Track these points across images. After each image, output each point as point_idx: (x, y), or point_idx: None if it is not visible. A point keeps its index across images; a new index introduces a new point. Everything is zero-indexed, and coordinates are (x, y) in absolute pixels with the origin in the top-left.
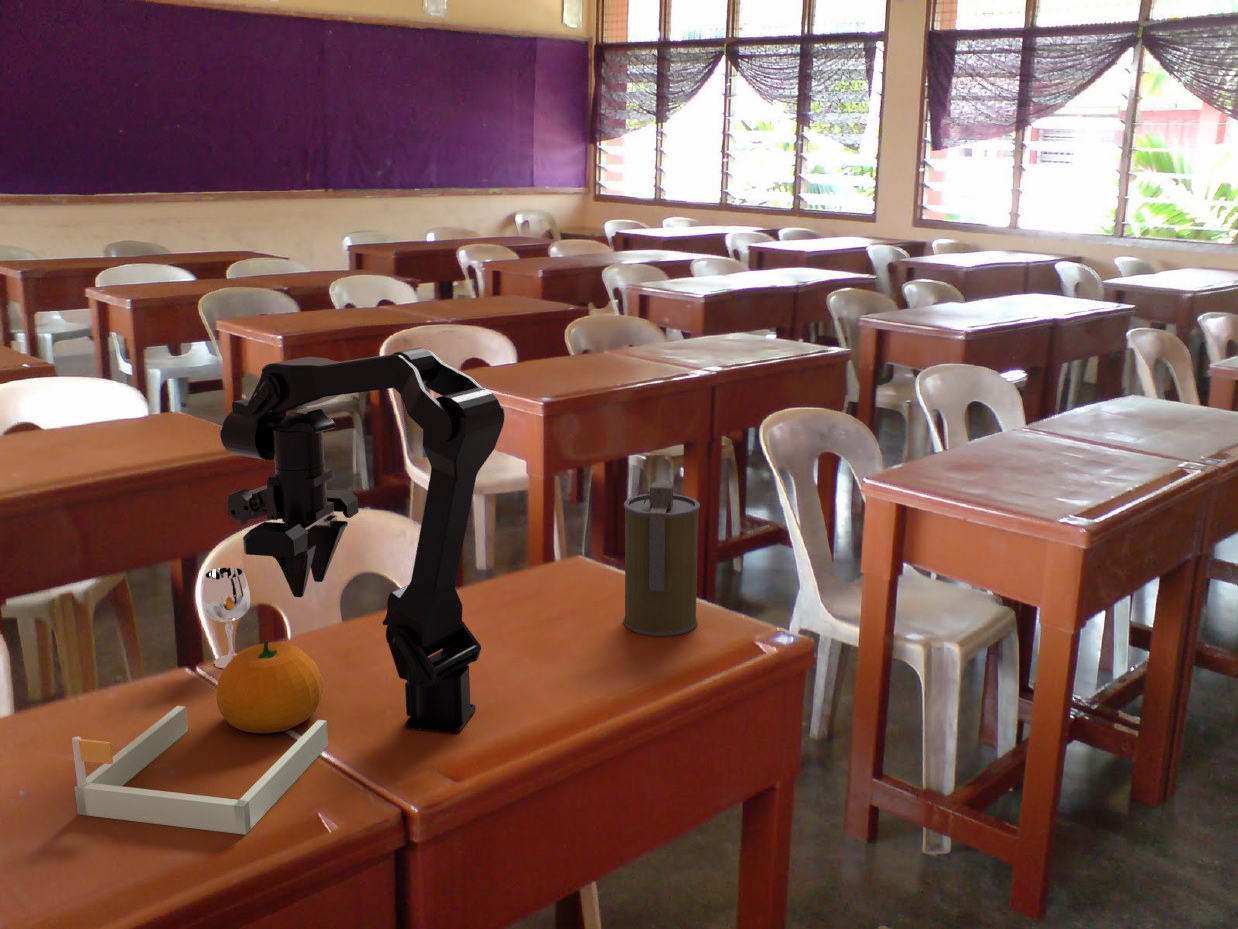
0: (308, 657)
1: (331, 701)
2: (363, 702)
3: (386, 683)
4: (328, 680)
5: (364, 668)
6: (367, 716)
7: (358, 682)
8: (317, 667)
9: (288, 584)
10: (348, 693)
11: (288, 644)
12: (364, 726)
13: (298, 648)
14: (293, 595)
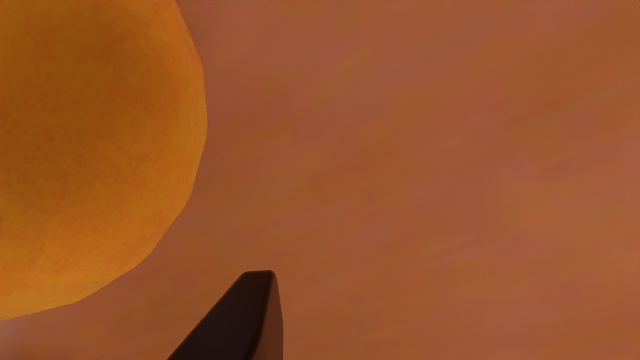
0: (66, 293)
1: (243, 173)
2: (270, 259)
3: (411, 263)
4: (392, 86)
5: (514, 156)
6: (195, 301)
7: (400, 187)
8: (116, 277)
9: (171, 354)
10: (313, 195)
11: (34, 227)
12: (141, 317)
13: (65, 258)
14: (242, 275)
